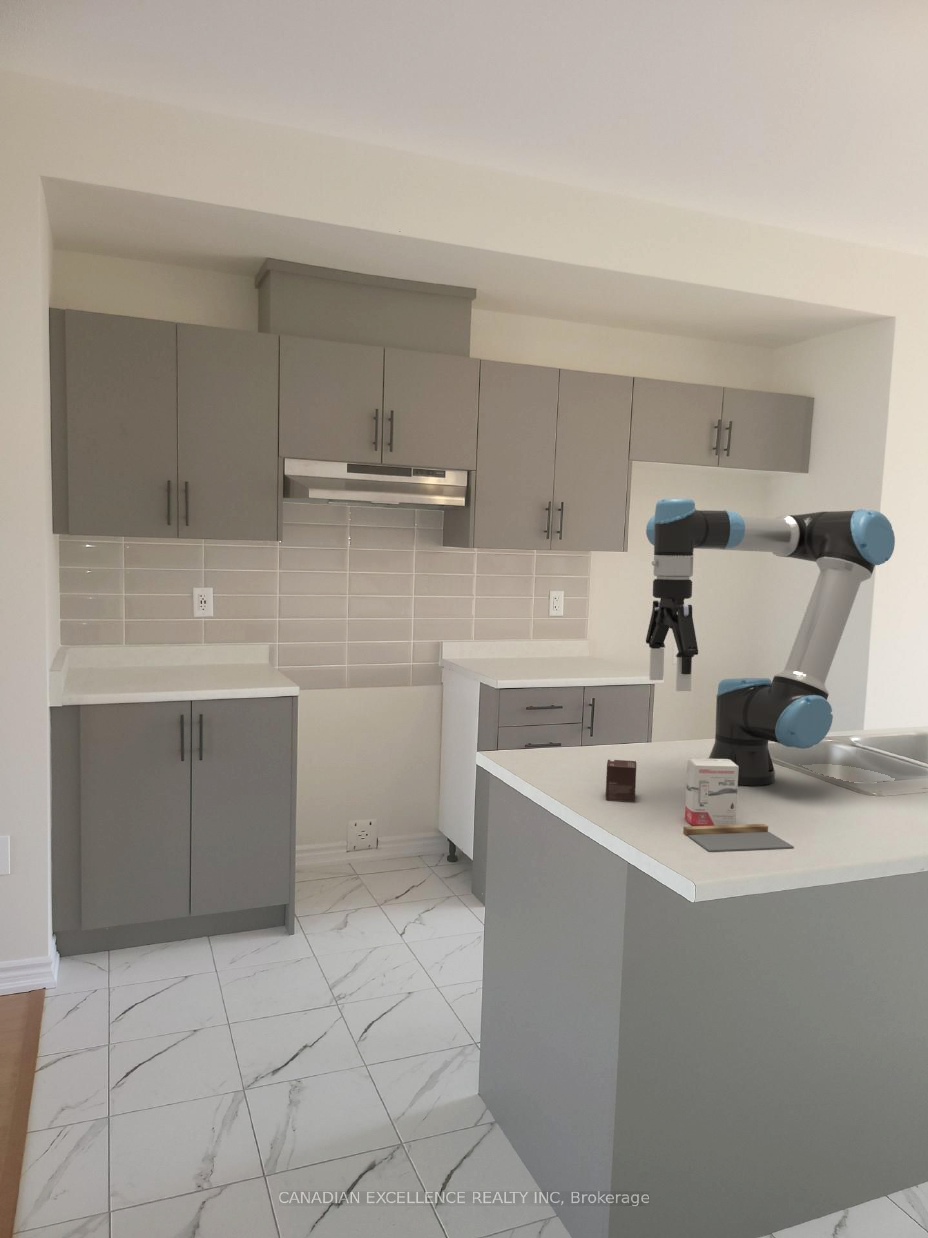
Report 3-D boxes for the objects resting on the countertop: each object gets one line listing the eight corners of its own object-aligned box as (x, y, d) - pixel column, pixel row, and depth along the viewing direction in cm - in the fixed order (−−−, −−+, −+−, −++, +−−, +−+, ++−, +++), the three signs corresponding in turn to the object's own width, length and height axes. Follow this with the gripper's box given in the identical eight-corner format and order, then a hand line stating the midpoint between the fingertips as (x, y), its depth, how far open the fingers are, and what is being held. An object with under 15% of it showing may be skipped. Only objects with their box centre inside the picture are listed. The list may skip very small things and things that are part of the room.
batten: (763, 830, 161) (763, 823, 161) (767, 832, 160) (768, 826, 160) (683, 833, 158) (683, 826, 158) (686, 835, 157) (687, 829, 157)
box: (635, 803, 177) (636, 767, 177) (605, 800, 178) (606, 765, 178) (635, 795, 183) (636, 760, 182) (606, 792, 184) (607, 758, 184)
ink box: (690, 826, 163) (693, 764, 162) (683, 818, 167) (686, 758, 167) (736, 827, 163) (739, 765, 162) (728, 819, 168) (731, 758, 167)
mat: (769, 833, 159) (769, 832, 159) (793, 848, 151) (793, 846, 151) (688, 836, 156) (688, 835, 156) (708, 852, 148) (708, 850, 148)
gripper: (632, 575, 182) (629, 676, 184) (680, 580, 158) (676, 696, 159) (666, 575, 183) (662, 675, 185) (719, 580, 159) (715, 695, 160)
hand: (669, 685), depth 172 cm, fingers open, 13 cm apart
